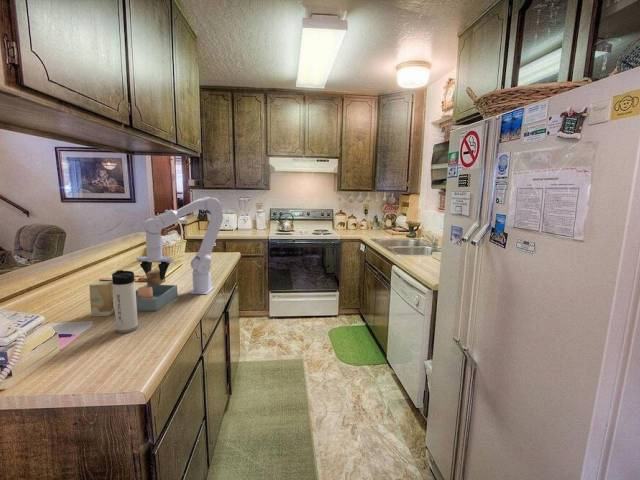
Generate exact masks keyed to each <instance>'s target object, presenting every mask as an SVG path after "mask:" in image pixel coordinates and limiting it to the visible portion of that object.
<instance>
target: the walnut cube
mask: <svg viewBox="0 0 640 480" xmlns="http://www.w3.org/2000/svg"><path fill="white" fill-rule="evenodd" d="M146 275H147V277H146V283H147V284H146V285H163V283H165V282H166V278H165V279H163V280H161V279H160V270H159V269H151V271H150V272H148V273H146V274H145V276H146Z"/></svg>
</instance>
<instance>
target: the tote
mask: <svg viewBox="0 0 640 480" xmlns="http://www.w3.org/2000/svg"><path fill="white" fill-rule="evenodd" d="M144 286H152V291H153V299H151V298H139V295H138V289H135V291H136V305H137V312H156V311H157V312H158V311H160V310H161V309H162V308H163V307H165V306H166V305H167V304H169V303H170V302H172V301H173V300H175V299H176V298H177V297H179V296H178V285H177V284H160V285H147V284H145V285H144ZM159 309H160V310H159Z"/></svg>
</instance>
